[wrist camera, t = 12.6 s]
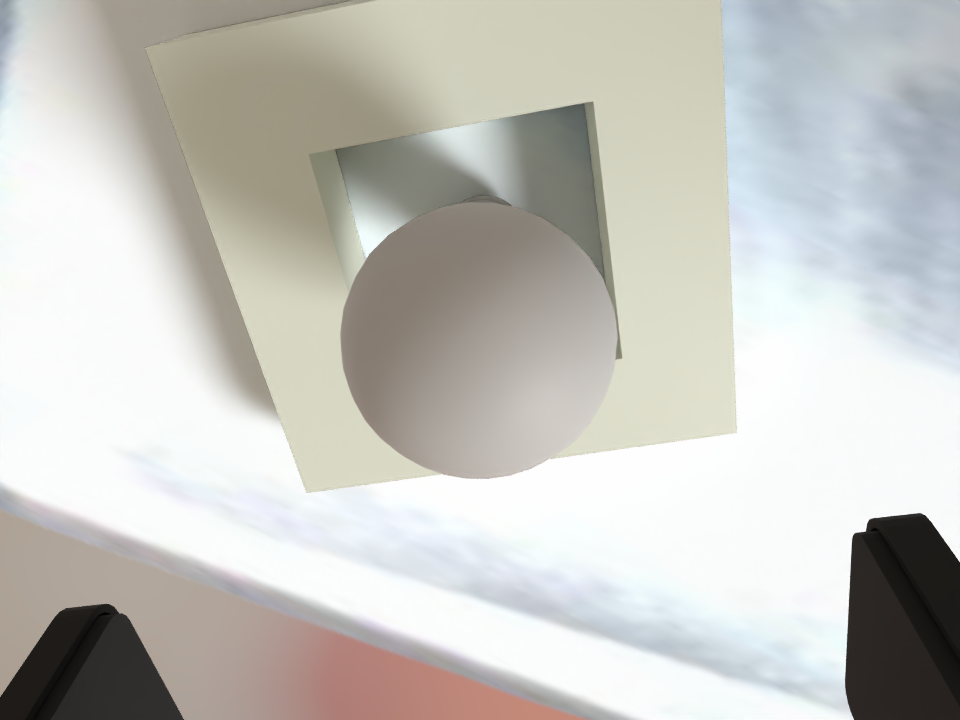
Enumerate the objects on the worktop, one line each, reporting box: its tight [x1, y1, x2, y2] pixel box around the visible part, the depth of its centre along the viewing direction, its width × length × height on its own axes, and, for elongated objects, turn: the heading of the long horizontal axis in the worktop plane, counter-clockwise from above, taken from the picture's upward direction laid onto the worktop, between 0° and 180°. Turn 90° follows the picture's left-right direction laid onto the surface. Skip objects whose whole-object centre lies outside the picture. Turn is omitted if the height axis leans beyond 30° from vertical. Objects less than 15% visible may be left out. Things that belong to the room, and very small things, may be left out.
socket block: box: [145, 0, 737, 493], centre depth 23 cm, size 14×14×3 cm
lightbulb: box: [340, 195, 618, 479], centre depth 20 cm, size 6×6×11 cm
